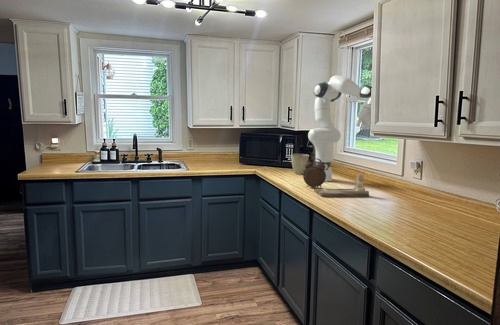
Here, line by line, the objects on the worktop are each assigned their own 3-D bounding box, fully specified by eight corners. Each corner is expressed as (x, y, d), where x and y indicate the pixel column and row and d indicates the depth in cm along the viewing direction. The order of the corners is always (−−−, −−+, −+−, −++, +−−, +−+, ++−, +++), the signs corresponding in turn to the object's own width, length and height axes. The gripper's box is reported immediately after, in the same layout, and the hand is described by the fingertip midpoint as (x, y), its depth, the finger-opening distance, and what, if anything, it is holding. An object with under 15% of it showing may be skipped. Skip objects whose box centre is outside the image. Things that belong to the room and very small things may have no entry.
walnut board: (314, 191, 223) (314, 186, 223) (358, 191, 228) (358, 186, 227) (321, 196, 209) (322, 191, 209) (368, 197, 214) (369, 191, 214)
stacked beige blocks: (352, 190, 221) (354, 173, 220) (360, 190, 222) (361, 173, 220) (357, 192, 215) (358, 175, 214) (364, 192, 216) (366, 175, 214)
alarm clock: (326, 188, 234) (328, 159, 231) (321, 190, 228) (323, 159, 225) (306, 185, 243) (308, 156, 240) (301, 187, 237) (303, 157, 234)
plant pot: (286, 172, 295) (288, 153, 293) (303, 172, 299) (304, 153, 297) (294, 175, 281) (295, 155, 279) (311, 175, 285) (312, 155, 283)
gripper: (370, 111, 230) (358, 129, 233) (363, 102, 213) (350, 121, 215) (379, 115, 227) (367, 133, 229) (372, 106, 210) (359, 126, 212)
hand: (359, 127), depth 222 cm, fingers open, 8 cm apart
